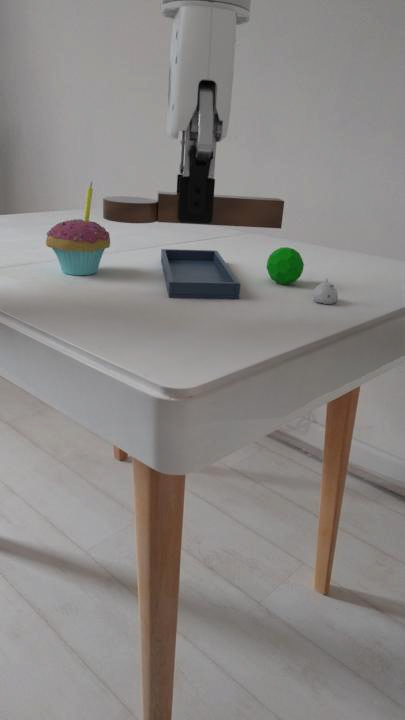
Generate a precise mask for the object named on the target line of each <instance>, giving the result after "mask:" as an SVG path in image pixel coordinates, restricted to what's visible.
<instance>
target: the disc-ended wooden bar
mask: <svg viewBox="0 0 405 720" xmlns="http://www.w3.org/2000/svg"><path fill="white" fill-rule="evenodd" d="M156 195H157V196H156V197H157V199H154V198H148V197H140V196H122V195H121V196H119V195H117V196H105V197H103V198H102V218H103V219H104V220H106V221H109V222H114V223H123V224H124V223H125V224H153V223H165V224H166V223H167V224H186V225H203V226H204V225H206V226H223V227H224V226H226V227H242V228H243V227H246V228H261V229H263V228H265V229H282V225H283V216H284V210H285V200H283V199H281V198H277V197H262V196H261V197H260V196H245V195H244V196H243V195H227V194H214V201H213V215H212V221H211V223H208V224H207V223H188V222H180V221H179V219H178V203H179V193H178V192H177V191H157V194H156Z"/></svg>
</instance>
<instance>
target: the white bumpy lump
mask: <svg viewBox="0 0 405 720" xmlns="http://www.w3.org/2000/svg"><path fill="white" fill-rule="evenodd" d="M311 297H312V299H313V301H314V302H315V301H316V303H317V302H319V303H318V304H321V303H323V305H334V304H336V303H337V302H338V299H339V294H338V290H337V289H336V288H335V284H332V283H330V282H329V281H328V278H326V281H325V282H321V283H319V284H318V285H317V286H316V287H315V288H314V289H313V290H312V292H311ZM333 303H334V304H333Z"/></svg>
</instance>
